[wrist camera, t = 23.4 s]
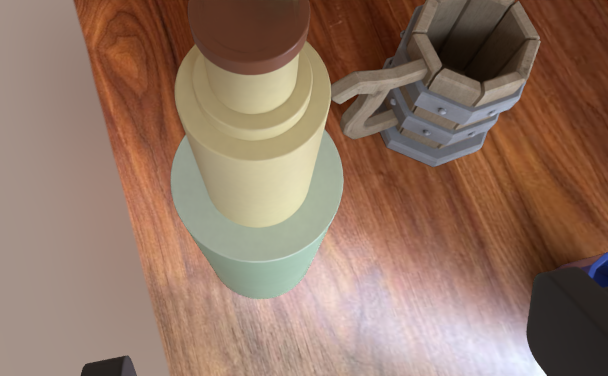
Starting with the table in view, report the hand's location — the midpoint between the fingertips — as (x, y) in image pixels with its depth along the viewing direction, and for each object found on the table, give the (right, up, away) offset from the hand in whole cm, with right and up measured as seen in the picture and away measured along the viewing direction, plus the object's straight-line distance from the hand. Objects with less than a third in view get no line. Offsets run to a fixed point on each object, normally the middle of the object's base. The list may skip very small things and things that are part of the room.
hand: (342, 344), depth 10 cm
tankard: (+9, +10, +47) cm, 49 cm away
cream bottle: (-3, +4, +20) cm, 21 cm away
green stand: (-5, -3, +41) cm, 42 cm away
